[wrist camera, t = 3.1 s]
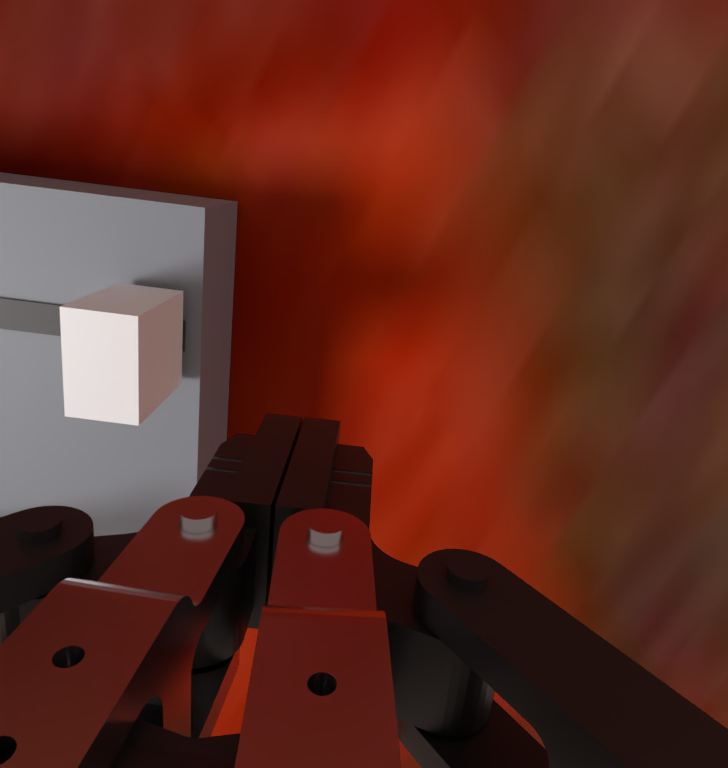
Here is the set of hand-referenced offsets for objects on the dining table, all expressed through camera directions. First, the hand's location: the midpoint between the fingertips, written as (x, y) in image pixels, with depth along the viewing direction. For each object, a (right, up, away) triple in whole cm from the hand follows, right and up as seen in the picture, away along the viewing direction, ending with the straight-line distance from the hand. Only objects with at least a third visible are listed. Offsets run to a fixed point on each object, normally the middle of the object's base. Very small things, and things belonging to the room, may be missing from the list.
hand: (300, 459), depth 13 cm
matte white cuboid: (-5, +3, +7) cm, 9 cm away
